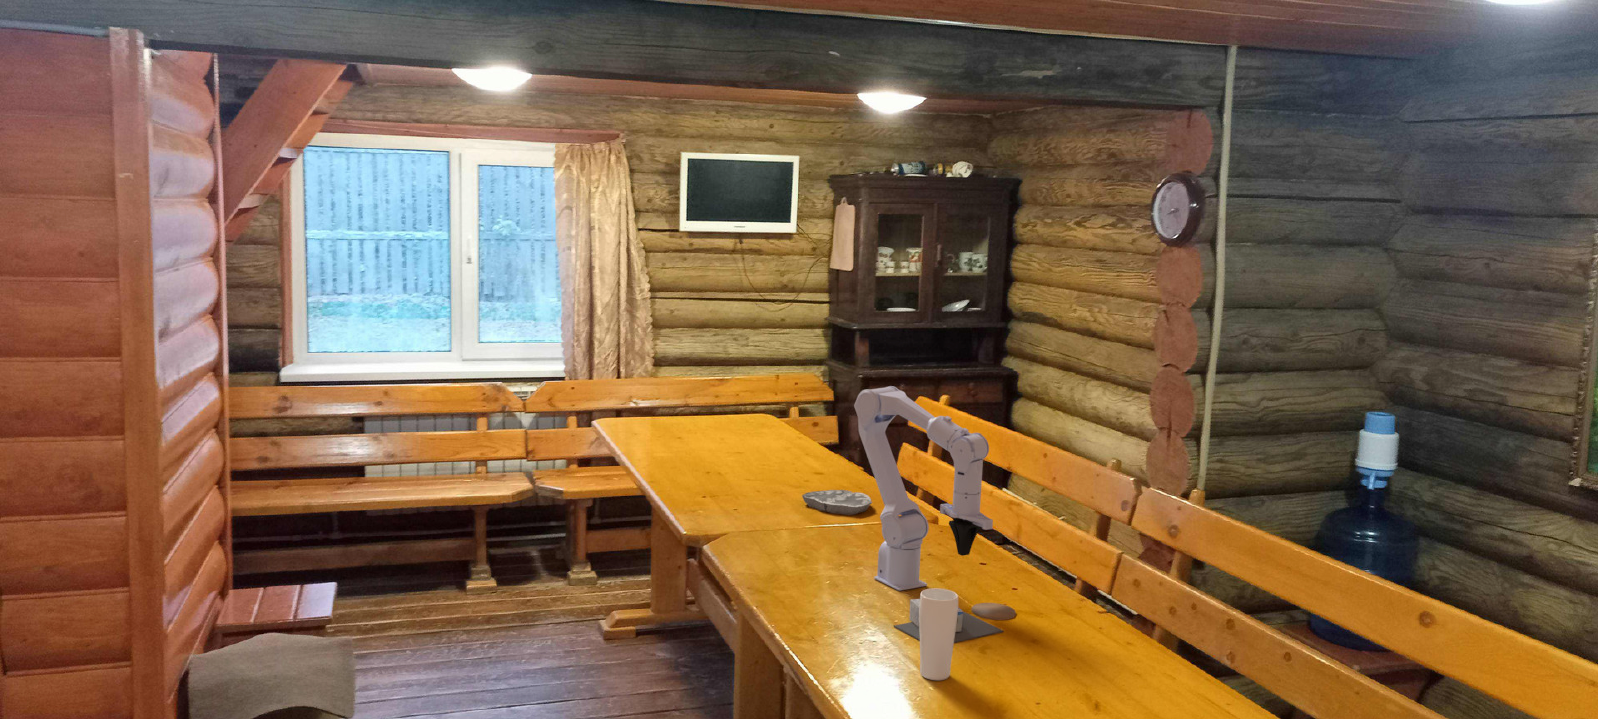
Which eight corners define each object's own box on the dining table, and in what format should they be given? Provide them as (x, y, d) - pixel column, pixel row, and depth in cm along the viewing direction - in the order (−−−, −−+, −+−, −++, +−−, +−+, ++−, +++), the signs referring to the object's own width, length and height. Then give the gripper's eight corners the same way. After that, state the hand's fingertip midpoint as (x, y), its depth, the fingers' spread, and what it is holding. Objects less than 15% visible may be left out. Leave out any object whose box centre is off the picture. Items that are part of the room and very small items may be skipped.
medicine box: (908, 619, 228) (925, 635, 220) (909, 598, 228) (926, 613, 219) (944, 616, 230) (962, 632, 222) (946, 595, 230) (963, 610, 222)
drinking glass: (950, 668, 205) (955, 588, 203) (957, 683, 198) (961, 601, 196) (913, 667, 205) (917, 587, 203) (918, 683, 198) (922, 600, 196)
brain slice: (884, 507, 318) (885, 497, 317) (855, 520, 303) (855, 509, 303) (824, 496, 328) (824, 486, 328) (793, 507, 314) (793, 497, 313)
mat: (893, 627, 225) (893, 625, 224) (963, 612, 234) (963, 611, 234) (932, 647, 214) (932, 646, 214) (1003, 631, 224) (1003, 630, 224)
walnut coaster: (962, 610, 237) (962, 606, 237) (994, 603, 242) (994, 600, 241) (992, 624, 229) (992, 620, 229) (1024, 617, 234) (1024, 613, 234)
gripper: (930, 485, 242) (927, 547, 243) (975, 501, 230) (972, 566, 231) (955, 482, 246) (952, 543, 247) (1001, 497, 233) (997, 561, 235)
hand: (963, 554), depth 240 cm, fingers closed
